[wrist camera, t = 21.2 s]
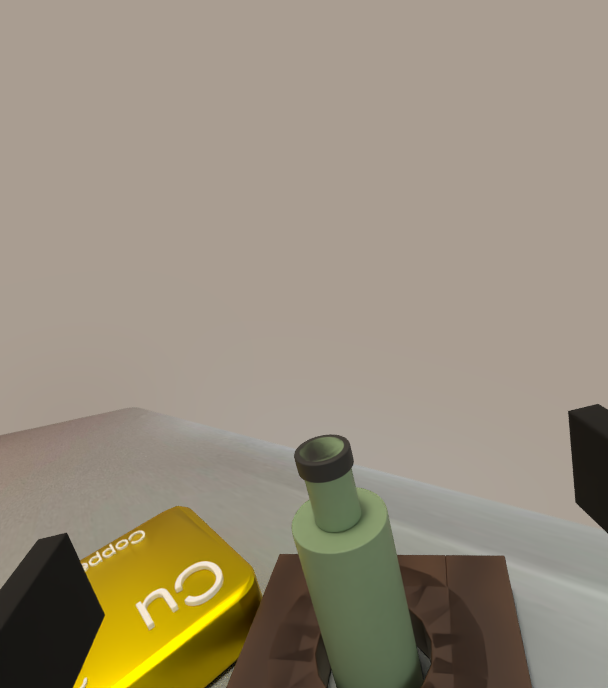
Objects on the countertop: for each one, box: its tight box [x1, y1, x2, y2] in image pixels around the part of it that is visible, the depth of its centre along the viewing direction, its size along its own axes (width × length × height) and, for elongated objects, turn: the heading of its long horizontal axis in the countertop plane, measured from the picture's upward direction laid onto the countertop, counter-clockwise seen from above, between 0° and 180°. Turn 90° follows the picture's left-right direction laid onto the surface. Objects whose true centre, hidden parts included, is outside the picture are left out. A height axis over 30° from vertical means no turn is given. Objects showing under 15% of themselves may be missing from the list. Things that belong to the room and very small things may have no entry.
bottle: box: [292, 435, 424, 688], centre depth 24 cm, size 5×5×16 cm
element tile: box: [73, 506, 262, 688], centre depth 33 cm, size 15×15×5 cm
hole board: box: [226, 554, 532, 688], centre depth 26 cm, size 16×14×3 cm
